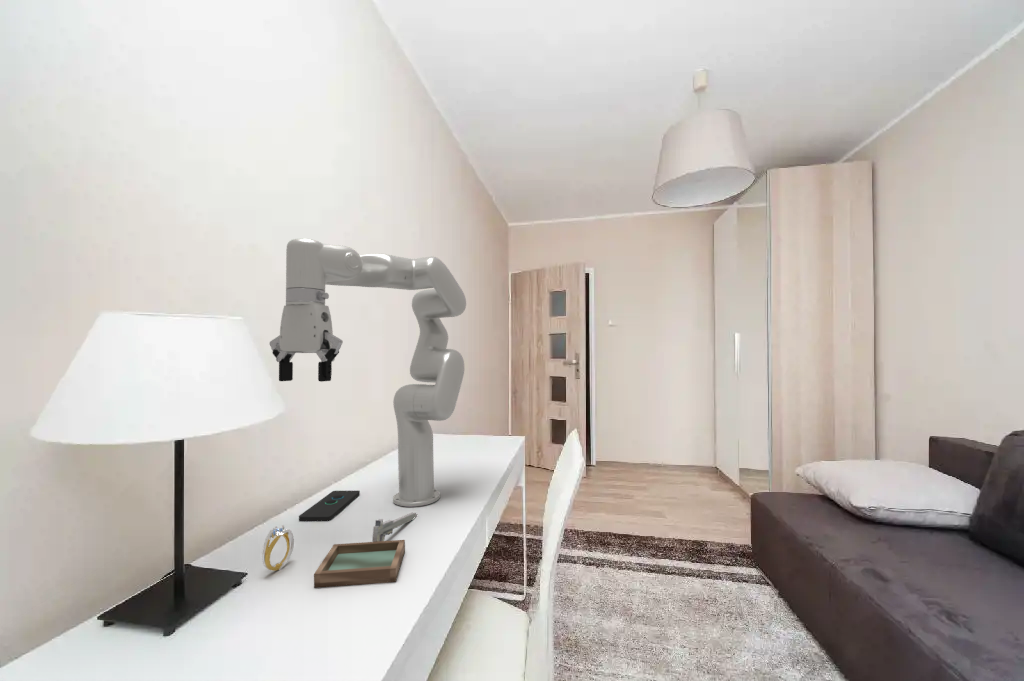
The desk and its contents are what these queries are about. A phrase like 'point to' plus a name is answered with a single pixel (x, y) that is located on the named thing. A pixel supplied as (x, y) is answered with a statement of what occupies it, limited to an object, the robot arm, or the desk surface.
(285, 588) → the desk surface
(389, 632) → the desk surface
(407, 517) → the caliper
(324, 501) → the smart home device
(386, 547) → the jewellery tray
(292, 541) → the ring
